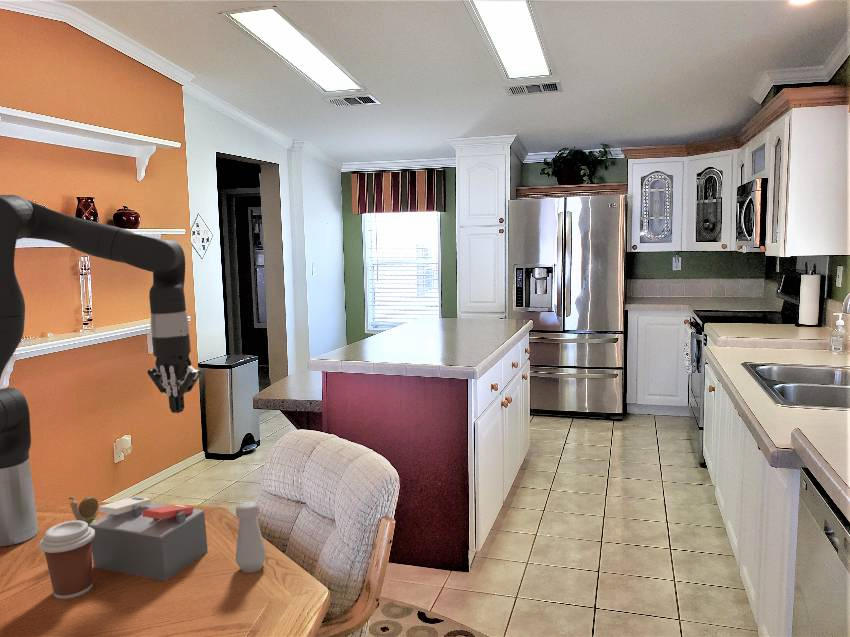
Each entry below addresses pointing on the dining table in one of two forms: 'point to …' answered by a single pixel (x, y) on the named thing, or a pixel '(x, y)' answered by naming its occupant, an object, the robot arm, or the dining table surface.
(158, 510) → the red rocker
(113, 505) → the white rocker
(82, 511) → the snail figurine
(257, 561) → the salt shaker
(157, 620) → the dining table surface
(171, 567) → the switch box
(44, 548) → the coffee cup
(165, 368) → the robot arm
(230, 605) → the dining table surface
